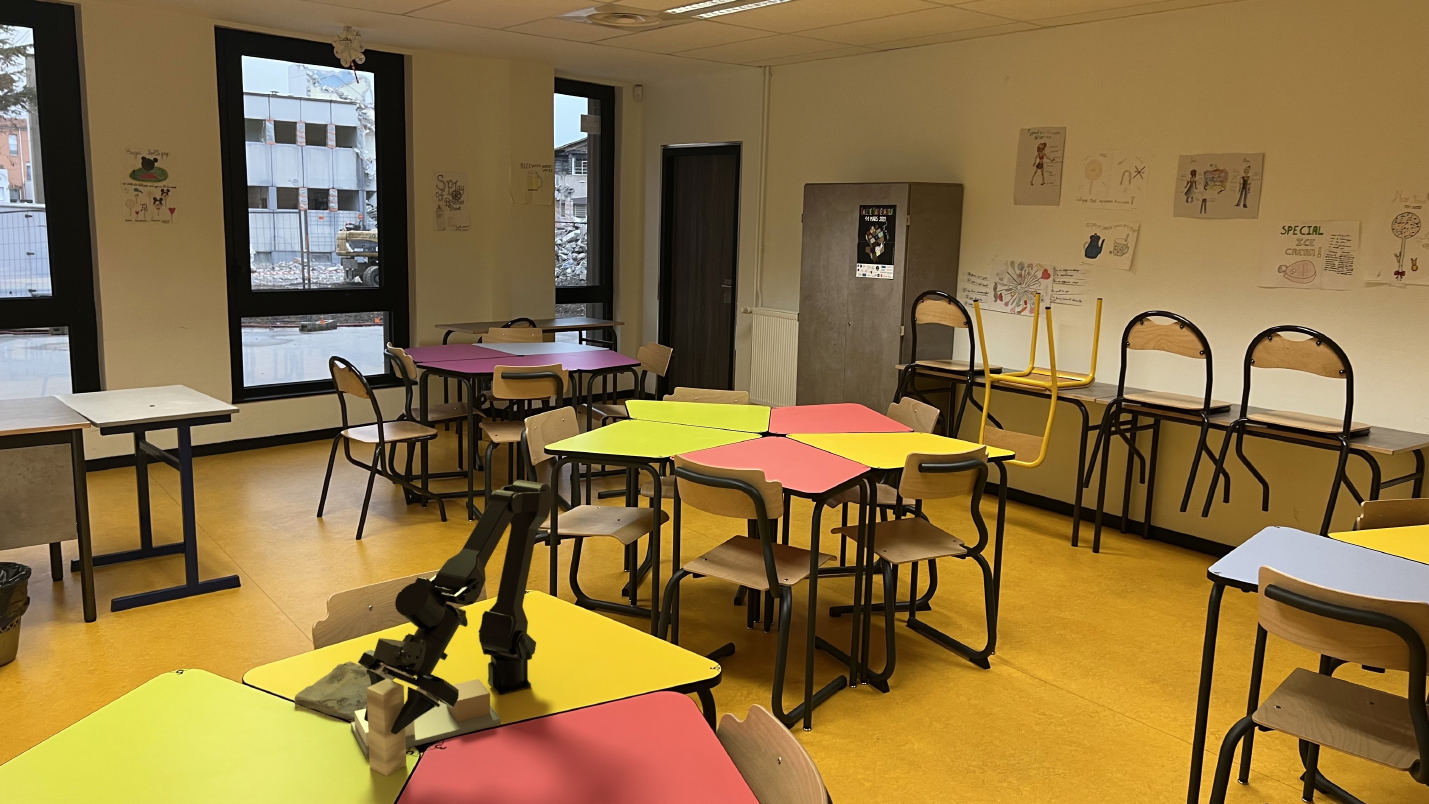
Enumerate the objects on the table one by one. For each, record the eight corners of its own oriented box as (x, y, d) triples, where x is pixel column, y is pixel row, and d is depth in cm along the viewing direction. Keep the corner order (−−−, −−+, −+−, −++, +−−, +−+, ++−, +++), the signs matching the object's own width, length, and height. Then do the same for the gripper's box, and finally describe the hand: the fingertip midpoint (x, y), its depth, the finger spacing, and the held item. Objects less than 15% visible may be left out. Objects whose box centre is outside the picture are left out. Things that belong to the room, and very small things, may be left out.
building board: (479, 696, 185) (479, 671, 184) (500, 723, 176) (500, 697, 175) (350, 727, 173) (349, 701, 172) (366, 758, 164) (365, 730, 163)
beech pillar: (389, 756, 165) (387, 678, 162) (406, 764, 163) (403, 685, 160) (369, 767, 161) (366, 688, 159) (386, 776, 159) (383, 695, 157)
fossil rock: (340, 669, 195) (340, 658, 195) (410, 680, 192) (410, 668, 192) (284, 712, 178) (284, 700, 178) (360, 725, 175) (360, 712, 175)
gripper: (365, 603, 165) (309, 691, 158) (443, 632, 155) (388, 727, 149) (404, 632, 173) (353, 716, 167) (481, 661, 164) (430, 752, 157)
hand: (379, 727), depth 159 cm, fingers open, 6 cm apart
